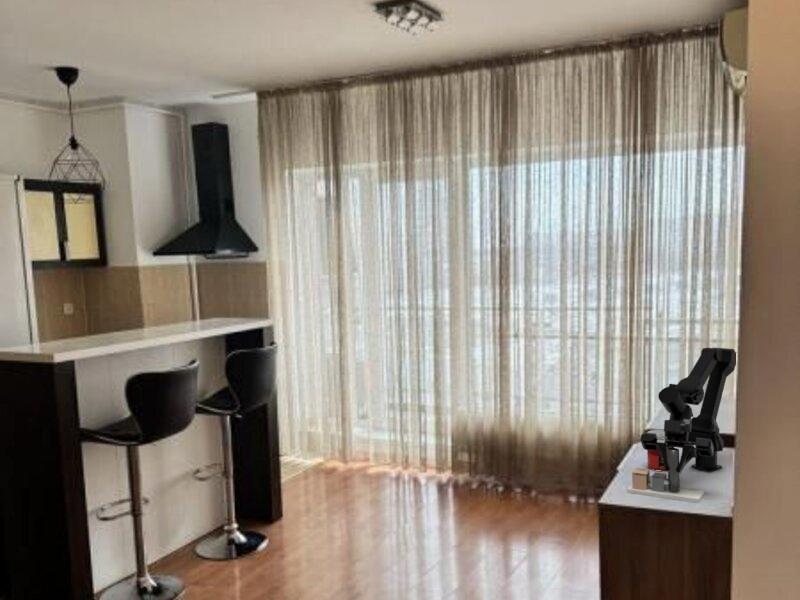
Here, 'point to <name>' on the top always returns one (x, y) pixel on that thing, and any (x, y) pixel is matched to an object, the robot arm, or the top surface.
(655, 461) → the canned food
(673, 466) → the slide bolt
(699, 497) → the base board
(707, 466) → the robot arm
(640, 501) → the top surface
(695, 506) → the top surface
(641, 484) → the tan block
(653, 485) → the sleeve
